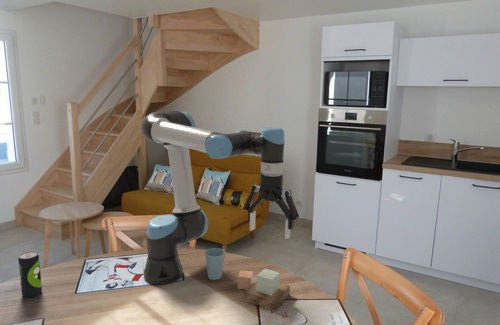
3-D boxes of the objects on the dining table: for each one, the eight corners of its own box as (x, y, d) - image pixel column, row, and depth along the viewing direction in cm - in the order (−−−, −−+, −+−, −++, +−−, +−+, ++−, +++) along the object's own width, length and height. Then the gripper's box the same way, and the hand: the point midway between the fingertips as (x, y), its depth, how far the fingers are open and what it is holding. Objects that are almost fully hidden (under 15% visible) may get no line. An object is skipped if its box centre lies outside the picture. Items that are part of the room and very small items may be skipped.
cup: (223, 271, 154) (223, 247, 152) (225, 280, 146) (226, 255, 144) (205, 272, 152) (204, 248, 150) (206, 282, 145) (206, 256, 143)
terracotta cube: (237, 288, 140) (237, 276, 140) (240, 282, 145) (240, 270, 144) (250, 290, 140) (250, 278, 139) (252, 283, 144) (253, 271, 144)
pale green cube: (256, 290, 133) (256, 275, 131) (264, 283, 138) (265, 268, 136) (271, 295, 130) (272, 279, 128) (279, 288, 135) (279, 272, 134)
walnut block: (244, 302, 133) (244, 291, 132) (260, 287, 143) (260, 277, 142) (275, 312, 127) (275, 301, 126) (289, 296, 137) (289, 286, 136)
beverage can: (19, 293, 134) (15, 254, 131) (38, 287, 138) (35, 249, 135) (25, 300, 129) (21, 260, 127) (44, 293, 134) (41, 254, 131)
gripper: (234, 171, 129) (233, 229, 133) (302, 181, 117) (298, 245, 121) (245, 167, 135) (244, 223, 139) (310, 176, 123) (307, 237, 127)
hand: (269, 233), depth 130 cm, fingers open, 13 cm apart
